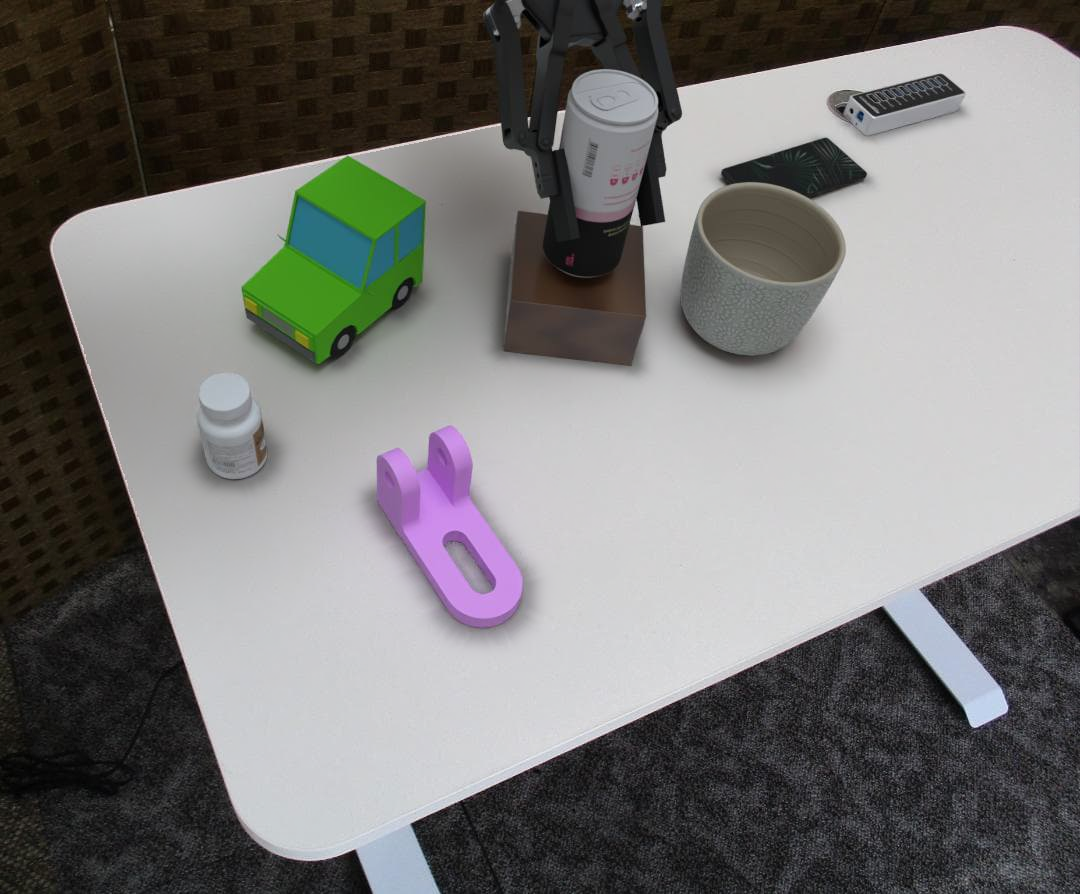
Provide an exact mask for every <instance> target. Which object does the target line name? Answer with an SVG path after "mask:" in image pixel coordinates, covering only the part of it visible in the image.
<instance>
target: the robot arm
mask: <svg viewBox="0 0 1080 894" xmlns="http://www.w3.org/2000/svg"><path fill="white" fill-rule="evenodd" d="M662 1H663V0H506V1H505V0H496V1H495V2H494V3H493V4H492V5H490V7H488V8H487V9H486V10H485V11H484V13H483V14H482V21H483V24H484V27H485V28H486V31H487V32H488V35H489V37H490V40H491V42H492V45H493V46H492V47H493V54H494V55H493V56H494V63H495V64H494V66H495V67H494V68H495V74H496V75H495V77H496V86H497V98H498V107H499V117H500V128H501V138H502V144H503V146H504V147H505V148H506V149H507V150H509V151H510V150H511V151H512V150H515V151H516V150H517V151H521V152H523V153H524V154H525V155H526V156H527V157H530V160H531V163H532V171H533V176H534V177H533V178H534V182H535V186H536V193H537V194H538V196H539V198H540V199H542V200H543V199H547V198H549V204H550V205H551V210H552V216H553V222H554V227H555V233H556V239H557V242H561V241H567V240H573V239H578V238H580V235H579V229H578V223H577V217H576V212H575V206H574V200H573V194H572V188H571V183H570V177H569V171H568V165H567V159H566V155H565V150H564V149H559V148H558V149H554V150H553V147H554V143H555V135H556V129H557V121H558V120H557V119H558V111H559V105H560V98H561V97H560V96H561V89H562V82H563V81H562V80H563V73H564V65H565V59H566V55H567V53H568V52H569V48H570V47H572V46H580V47H590V49H591V51H592V54H593V55H594V57H595V58H597V59H599V61H600V63H601V65H602V67H603V69H611V70H618V71H623V72H626V73H629V74H632V75H634V76H637V77H639V78H640V79H642V80H644V81H645V82H646V83H648V84H649V85H650V86H651V87H652V88H653V89H654V91H655V93H656V95H657V97H658V117H657V120H656V124H655V128H654V132H653V136H652V140H651V144H650V148H649V151H648V155H647V159H646V163H645V167H644V171H643V175H642V178H641V182H640V186H639V190H638V194H637V198H636V205H637V212H638V218H639V224H640V225H639V226H643V227H645V226H650V225H651V226H652V225H656V224H661V223H666V217H665V210H664V204H663V197H662V191H661V183H660V178H665V177H666V176H667V175H666V174H667V163H666V157H665V150H664V146H663V137H662V136H663V132H664V131H665V130H667V129H668V127H669V126H671V125H672V124H674V123H675V122H678V121H680V120H681V118H682V116H683V109H682V105H681V101H680V97H679V92H678V88H677V84H676V80H675V75H674V70H673V66H672V62H671V57H670V52H669V49H668V44H667V40H666V36H665V32H664V27H663V23H662V17H661V16H662ZM623 5H624V7H625V8H626V16H627V18H628V19H631V30H632V34H633V35H632V36H633V39H634V43H635V46H636V53H637V56H638V60H639V64H640V69H641V72H642V75H641V73H640V70H639V68H638V67H637V64H636V62H635V60H634V57H633V56H632V53H631V52H630V49H629V47H628V46H627V45H628V44H627V40H628V39H627V35H626V33H625V31H624V29H623V27H622V24H621V22H620V20H619V14H620V11H621V9H622V8H623ZM521 16H522V17H524V19H525V20H526V21H527V22H528V23H529V24H530V25H531V26H532V28H533V29H534V30H535V31H536V32H537V34H538V35H537V44H536V51H535V60H536V68H535V75H534V76H535V77H534V85H533V91H532V92H533V94H532V101H531V109H530V116H529V115H528V107H527V96H526V84H525V83H526V82H525V74H524V63H523V54H522V53H523V52H522V44H521V43H522V42H521V36H520V35H521V34H520V32H519V31H520V28H521V27H522V18H521ZM528 116H529V117H528Z"/></svg>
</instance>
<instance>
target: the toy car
mask: <svg viewBox="0 0 1080 894" xmlns="http://www.w3.org/2000/svg"><path fill="white" fill-rule="evenodd" d="M426 211H427V200H426V199H424V198H422V197H420V196H419V195H417V194H415V193H414V192H412V191H410V190H409V189H407V188H405V187H403V186H401V185H400V184H398V183H397V182H394V181H393V180H391V179H389V178H388V177H386V176H384V175H383V174H381V173H379V172H377V171H376V170H374V169H372V168H370V167H369V166H367V165H365V164H363V163H362V162H361V161H359V160H357V159H355V158H353V157H352V156H349V155H346V156H345V157H342V158H341V159H340V160H339V161H337V162H336V163H334V164H333V165H331V166H330V167H328V168H327V169H325V170H324V171H322V172H321V173H319V174H318V175H317V176H314V178H312V179H311V180H309V181H307V182H306V183H305V184H303V185H301V186H300V187H298V188H297V189H295V191H294V195H293V201H292V205H291V211H290V216H289V221H288V226H287V230H286V231H287V232H286V236H285V238H284V237H282V236H281V235H279V234H278V233H277V234H276V235H277V237H278V238H279V239H281V240H282V241H283V242H284V246H283V247H282V248H280V250H279V251H278V252H276V253H275V254H274V255H273V257H271V258H270V259H269V260H268V261H267V262H266V263H265V264H264V265H263V266H262V267H261V268H260V269H259V270H258V271H256V273H254V275H252V276H251V277H250V278H249V279H248V280H247V281H246V282H245V283H244V284H243V285H242V286H241V293H242V301H243V307H244V312H245V317H246V319H247V320H249V321H250V322H251V323H253V324H255V325H256V326H258V327H259V328H261V329H262V330H264V331H266V332H267V333H269V334H270V335H271V336H273V337H274V338H276V339H277V340H279V341H281V343H283V344H285V345H287V346H288V347H289V348H291V349H293V350H294V351H296V352H297V353H299V354H300V355H302V356H304V357H305V358H306V359H308V360H309V361H311V362H313V363H316V364H317V365H320V364H322V362H324V361H326V359H328V358H329V357H331V358H335V359H338V358H340V357H342V356H344V355H345V354H346V353H347V352H348V350H350V348H351V346H352V345H353V343H354V341H355V338H356V335H357V336H358V335H359V334H361V333H362V332H363V331H365V330H366V329H367V328H369V326H371V325H372V324H374V322H376V320H378V319H379V318H380V317H381V316H383V315H384V314H385V313H386V312H387V311H389V310H390V309H391V308H393V309H399V308H400V307H402V306H403V305H404V304H405V303H406V302H407V301H408V300H409V299H410V296H411V294H412V292H413V290H414V287H415V288H417V287H418V286H419V285H421V283H423V278H424V256H425V255H424V254H425V235H426V234H425V233H426V213H427V212H426Z"/></svg>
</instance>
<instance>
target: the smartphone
mask: <svg viewBox="0 0 1080 894" xmlns="http://www.w3.org/2000/svg"><path fill="white" fill-rule="evenodd" d="M720 175H721V176H722V178H723V179H725V181H727V183H729V185H731V184H736V183H745V182H756V183H766V184H772V185H776V186H780V187H784V188H787V189H790V190H792V191H795V192H797V193H799V194H801V195H803V196H805V197H807V198H809V199H810V198H811V197H814V196H817V195H820V194H823V193H826V192H830V191H832V190H835V189H838V188H842V187H844V186H847V185H850V184H852V183H855V182H858V181H862V180H864V179H866V178H867V176H868V172H867V171H866V169H863V168H862V166H860V165H859V164H858V162H856V161H855V160H854V159H853V158H851V157H850V156H849V155H848V154H847V153H846V152H845V151H843V150H842V149H841V148H840V147H839V146H838V145H837V144H836V143H834V142H833V141H832V140H831V139H830V138H829V137H822V138H819V139H816V140H811V141H809V142H806V143H802V144H799V145H796V146H793V147H790V148H789V147H788V148H786V149H783V150H780V151H776V152H772V153H769V154H766V155H764V156H760V157H757V158H754V159H749V160H747V161H743V162H741V163H737V164H734V165H731V166H728V167H724V168H722V170H721V171H720Z"/></svg>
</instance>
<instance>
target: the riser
mask: <svg viewBox="0 0 1080 894" xmlns="http://www.w3.org/2000/svg"><path fill="white" fill-rule="evenodd" d="M547 216H548V213H541V212H535V211H534V212H532V211H525V210H517V212H516V218H515V219H516V220H515V226H514V227H515V228H514V232H513V233H514V235H513V240H512V249H511V256H510V265H509V274H508V275H509V277H508V289H507V299H506V300H507V301H506V313H505V323H504V325H505V326H504V338H503V349H502V350H503V352H510V353H518V354H519V353H520V354H526V355H536V356H543V357H554V358H562V359H571V360H579V361H588V362H596V363H605V364H614V365H621V366H622V365H624V366H632V365H633V362H634V359H635V355H636V352H637V348H638V345H639V342H640V338H641V335H642V332H643V328H644V325H645V323H646V319H647V302H646V299H647V298H646V275H645V246H644V245H645V243H644V226H641V225H636V224H630V225H629V229H628V233H627V237H626V240H625V244H624V248H623V252H622V256H621V259H620V262H619V264H618V265H617V266H616V268H615V269H613V270H612V271H611V272H609V273H607V274H604V275H601V276H597V277H591V278H582V277H576V276H572V275H569V274H567V273H565V272H563V271H561V270H559V269H558V268H557V267H555V266H554V265H553V264H552V263H551V262H550V261H549V260H548V259H547V257H546V255H545V253H544V250H543V239H544V233H545V227H546V221H547Z"/></svg>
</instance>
